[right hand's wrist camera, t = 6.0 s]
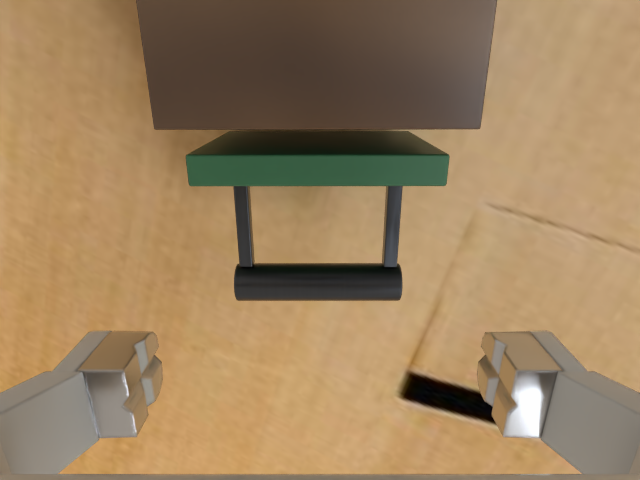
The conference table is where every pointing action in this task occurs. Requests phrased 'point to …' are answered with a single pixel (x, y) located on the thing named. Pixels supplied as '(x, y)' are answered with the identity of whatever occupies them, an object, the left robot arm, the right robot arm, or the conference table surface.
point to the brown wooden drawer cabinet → (316, 63)
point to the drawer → (317, 170)
